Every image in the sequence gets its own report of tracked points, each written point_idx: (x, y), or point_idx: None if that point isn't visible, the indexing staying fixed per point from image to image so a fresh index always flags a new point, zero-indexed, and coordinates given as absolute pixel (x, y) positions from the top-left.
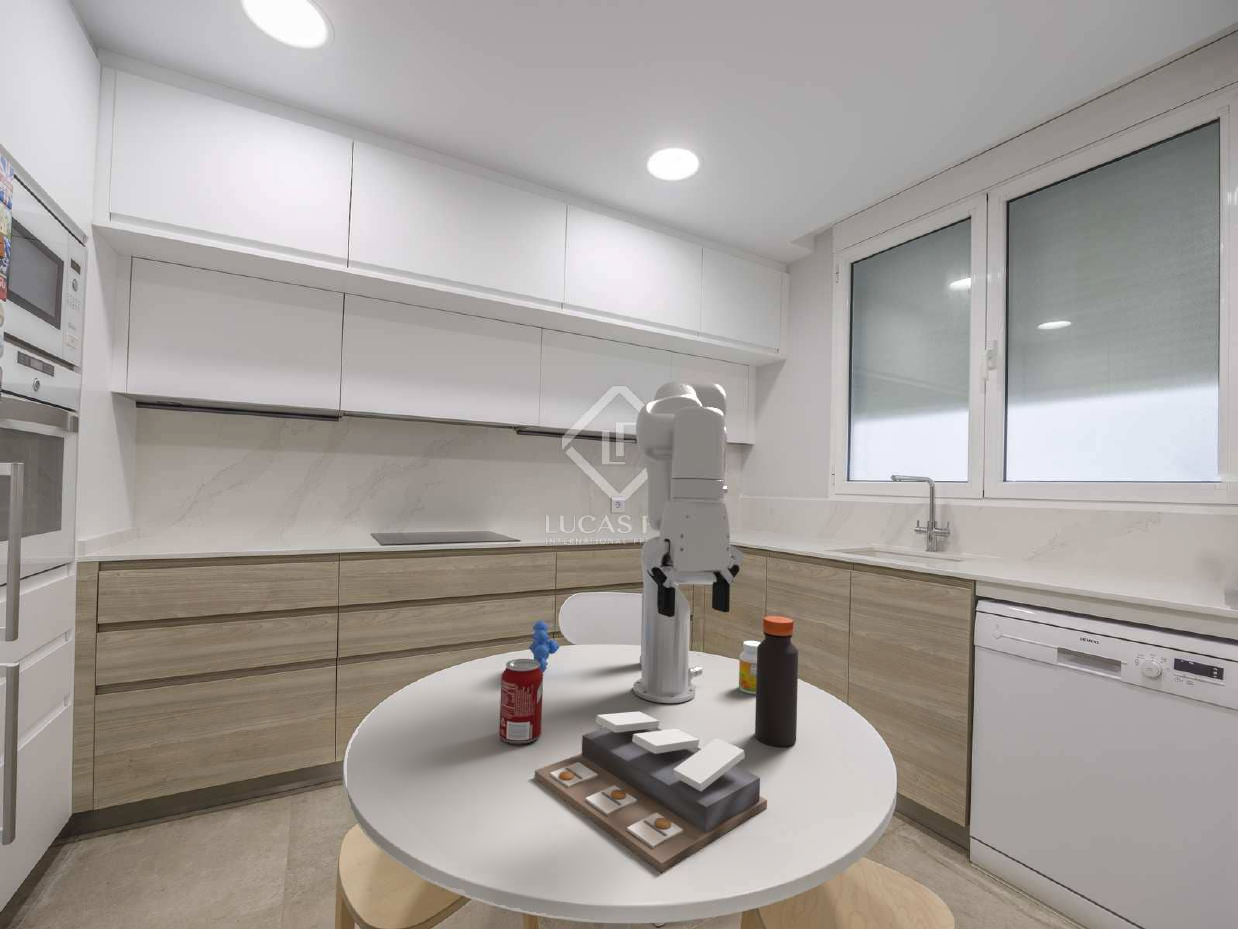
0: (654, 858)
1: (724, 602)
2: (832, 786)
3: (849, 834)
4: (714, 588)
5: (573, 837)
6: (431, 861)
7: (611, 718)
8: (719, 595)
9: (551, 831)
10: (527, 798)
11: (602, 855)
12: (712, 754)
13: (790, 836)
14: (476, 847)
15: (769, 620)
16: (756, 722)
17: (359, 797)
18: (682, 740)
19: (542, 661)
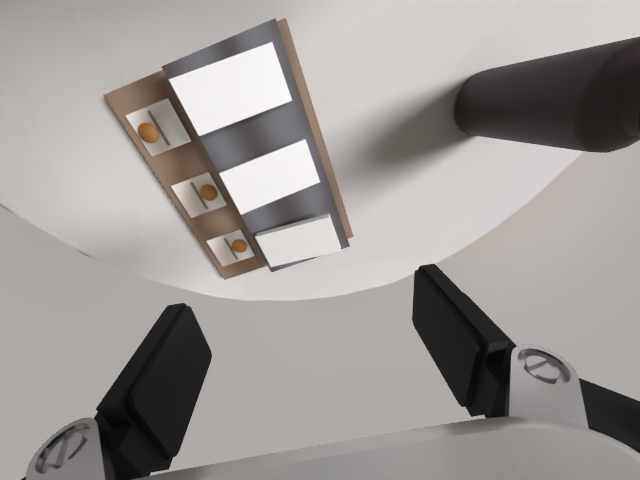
0: (221, 273)
1: (426, 344)
2: (436, 222)
3: (386, 277)
4: (458, 335)
5: (160, 222)
6: (26, 217)
7: (196, 98)
8: (439, 341)
9: (138, 208)
10: (106, 143)
11: (184, 248)
12: (305, 238)
13: (342, 268)
14: (65, 210)
15: None
16: (471, 92)
17: None
18: (291, 189)
19: None
